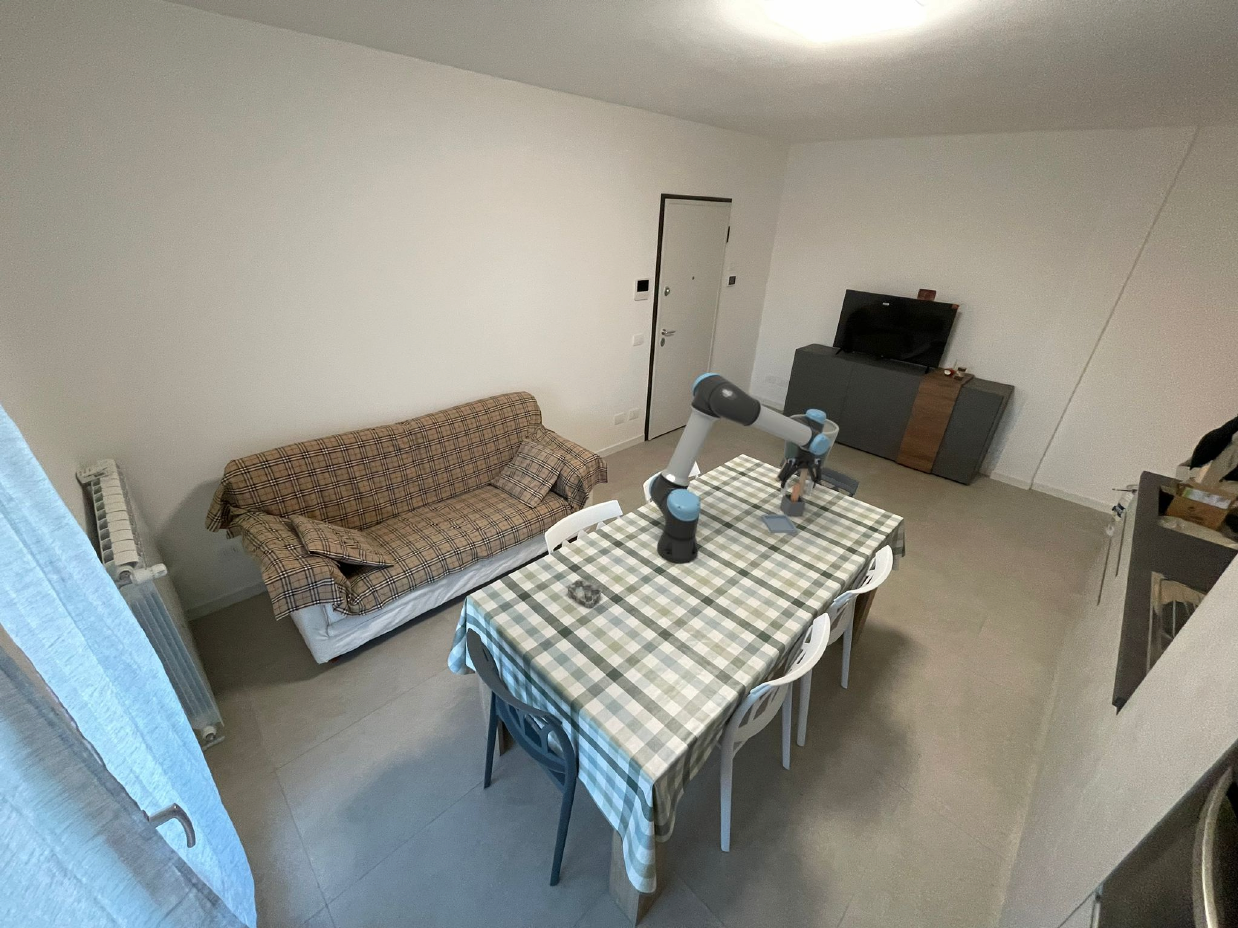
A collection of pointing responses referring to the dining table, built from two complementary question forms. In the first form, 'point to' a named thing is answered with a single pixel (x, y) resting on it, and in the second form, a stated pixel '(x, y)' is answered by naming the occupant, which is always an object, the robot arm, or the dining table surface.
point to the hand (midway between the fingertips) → (795, 494)
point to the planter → (791, 449)
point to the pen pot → (792, 506)
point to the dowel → (795, 492)
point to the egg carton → (589, 591)
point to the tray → (779, 524)
